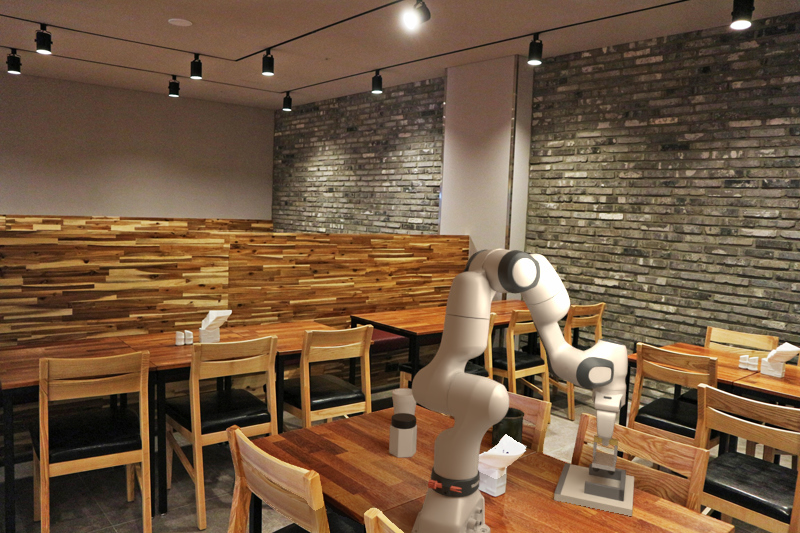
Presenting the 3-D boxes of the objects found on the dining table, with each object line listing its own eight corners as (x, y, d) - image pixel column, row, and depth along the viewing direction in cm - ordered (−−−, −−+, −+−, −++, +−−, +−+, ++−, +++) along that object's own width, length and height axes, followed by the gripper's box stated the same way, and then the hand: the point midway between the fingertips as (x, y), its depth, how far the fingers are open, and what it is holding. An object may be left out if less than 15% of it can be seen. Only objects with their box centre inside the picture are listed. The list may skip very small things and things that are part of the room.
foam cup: (416, 431, 206) (418, 396, 205) (391, 431, 206) (392, 395, 205) (415, 422, 216) (417, 388, 215) (391, 421, 215) (392, 388, 214)
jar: (421, 454, 186) (422, 418, 185) (401, 460, 181) (403, 423, 180) (403, 445, 193) (404, 410, 192) (384, 451, 188) (385, 415, 187)
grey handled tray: (615, 477, 158) (617, 445, 157) (590, 473, 160) (592, 441, 159) (616, 465, 166) (618, 434, 165) (593, 461, 168) (595, 430, 168)
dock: (631, 517, 150) (633, 498, 150) (554, 500, 158) (555, 482, 158) (633, 483, 170) (634, 466, 170) (564, 469, 178) (565, 453, 178)
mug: (528, 445, 196) (529, 411, 196) (509, 459, 185) (511, 423, 184) (499, 437, 203) (501, 404, 202) (479, 450, 191) (481, 415, 190)
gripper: (599, 384, 172) (597, 429, 173) (593, 404, 153) (590, 454, 154) (622, 388, 169) (619, 433, 171) (619, 408, 151) (615, 458, 152)
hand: (605, 443), depth 162 cm, fingers closed on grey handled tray
